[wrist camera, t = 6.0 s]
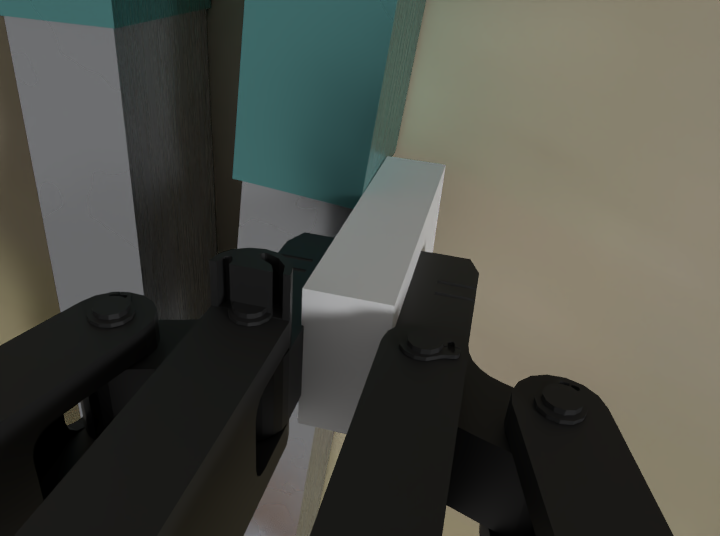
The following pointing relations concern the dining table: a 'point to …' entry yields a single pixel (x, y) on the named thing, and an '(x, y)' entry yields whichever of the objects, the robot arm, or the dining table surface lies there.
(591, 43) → the dining table surface
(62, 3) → the ball-hinged grey bar
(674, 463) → the dining table surface
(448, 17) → the dining table surface
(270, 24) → the block
